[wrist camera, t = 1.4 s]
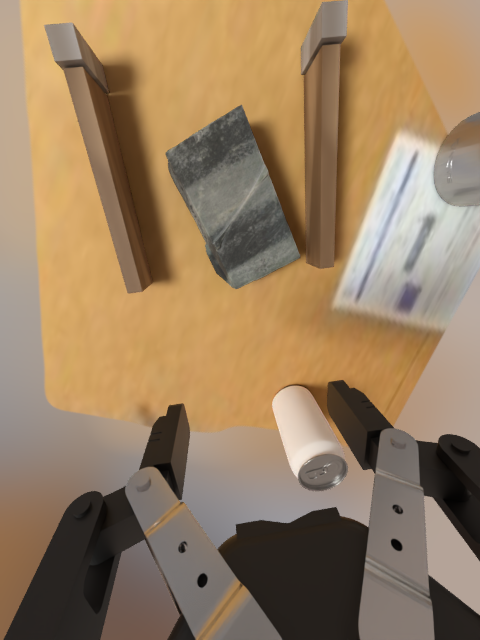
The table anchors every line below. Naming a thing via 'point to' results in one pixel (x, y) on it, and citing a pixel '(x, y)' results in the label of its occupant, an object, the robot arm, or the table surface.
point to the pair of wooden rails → (109, 167)
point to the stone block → (232, 200)
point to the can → (308, 440)
